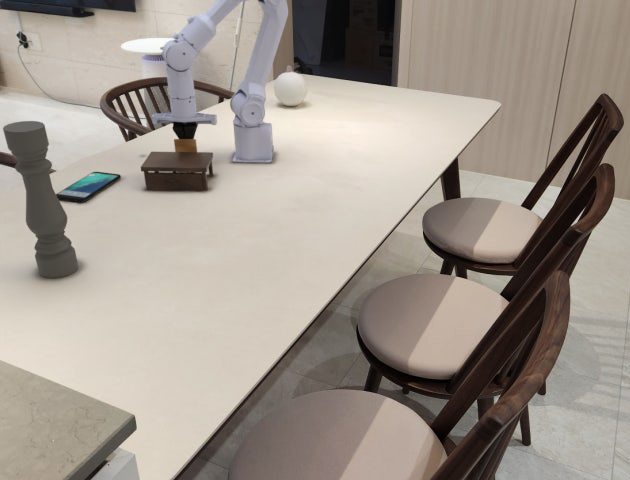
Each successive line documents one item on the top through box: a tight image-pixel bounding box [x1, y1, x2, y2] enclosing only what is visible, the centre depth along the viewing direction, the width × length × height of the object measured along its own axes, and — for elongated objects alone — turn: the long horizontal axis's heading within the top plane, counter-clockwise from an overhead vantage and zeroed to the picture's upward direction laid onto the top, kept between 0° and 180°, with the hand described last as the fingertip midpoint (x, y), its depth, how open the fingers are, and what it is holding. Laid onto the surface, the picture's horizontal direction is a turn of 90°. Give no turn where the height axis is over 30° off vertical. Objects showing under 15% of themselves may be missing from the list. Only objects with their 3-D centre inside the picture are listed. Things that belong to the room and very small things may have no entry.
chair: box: [172, 138, 198, 173], centre depth 148 cm, size 5×6×7 cm
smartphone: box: [55, 171, 122, 203], centre depth 139 cm, size 7×1×15 cm
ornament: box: [273, 65, 308, 107], centre depth 199 cm, size 10×10×12 cm
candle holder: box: [2, 120, 79, 279], centre depth 103 cm, size 6×6×25 cm
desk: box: [140, 151, 214, 192], centre depth 143 cm, size 14×10×6 cm
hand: (188, 153), depth 153 cm, fingers closed, pressing on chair
